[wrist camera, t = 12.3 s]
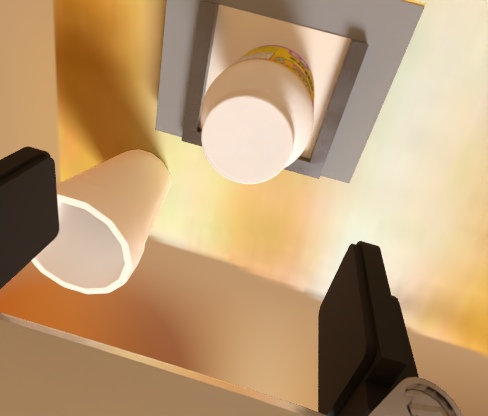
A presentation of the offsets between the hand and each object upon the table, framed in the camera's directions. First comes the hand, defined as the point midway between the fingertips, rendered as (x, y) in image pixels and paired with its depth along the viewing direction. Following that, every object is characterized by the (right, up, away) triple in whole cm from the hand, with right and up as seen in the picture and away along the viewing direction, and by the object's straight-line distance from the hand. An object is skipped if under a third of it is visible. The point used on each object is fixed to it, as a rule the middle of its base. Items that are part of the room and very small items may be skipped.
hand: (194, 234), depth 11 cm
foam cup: (-9, +4, +28) cm, 30 cm away
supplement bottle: (+4, +11, +18) cm, 21 cm away
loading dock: (+4, +13, +20) cm, 24 cm away
